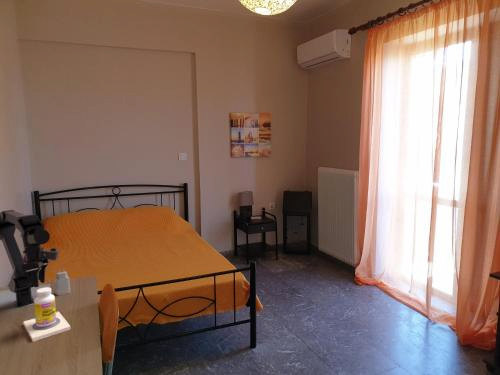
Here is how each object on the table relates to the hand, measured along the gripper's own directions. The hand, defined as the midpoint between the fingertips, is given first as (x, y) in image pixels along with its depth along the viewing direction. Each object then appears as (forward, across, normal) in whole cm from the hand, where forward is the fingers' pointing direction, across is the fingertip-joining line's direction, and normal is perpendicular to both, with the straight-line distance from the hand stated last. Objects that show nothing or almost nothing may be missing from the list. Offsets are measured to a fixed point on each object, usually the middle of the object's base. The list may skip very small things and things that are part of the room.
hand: (40, 285), depth 144 cm
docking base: (+14, -11, -2) cm, 18 cm away
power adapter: (+9, +20, -3) cm, 22 cm away
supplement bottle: (+13, -11, -2) cm, 17 cm away
